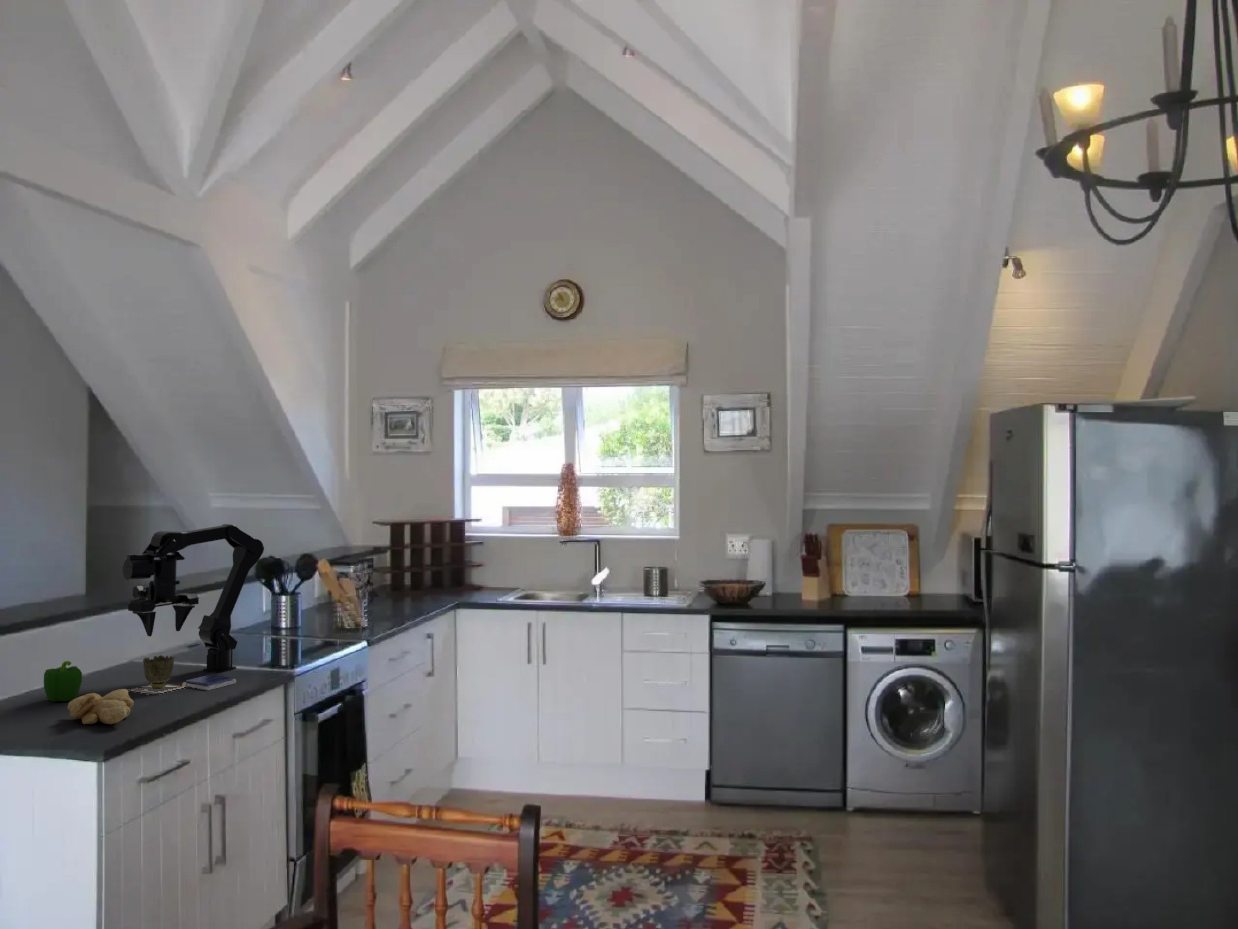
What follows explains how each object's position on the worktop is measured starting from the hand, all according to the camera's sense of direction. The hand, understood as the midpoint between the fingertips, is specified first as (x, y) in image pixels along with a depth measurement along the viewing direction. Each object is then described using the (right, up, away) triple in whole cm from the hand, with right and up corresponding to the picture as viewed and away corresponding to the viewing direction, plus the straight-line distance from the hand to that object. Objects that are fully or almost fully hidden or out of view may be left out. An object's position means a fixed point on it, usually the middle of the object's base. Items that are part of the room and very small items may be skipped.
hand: (163, 633), depth 263 cm
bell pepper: (-14, -13, -25) cm, 31 cm away
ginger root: (+5, -13, -42) cm, 44 cm away
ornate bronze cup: (+4, -13, -12) cm, 18 cm away
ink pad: (+15, -13, -6) cm, 21 cm away
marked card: (+4, -13, -12) cm, 18 cm away
